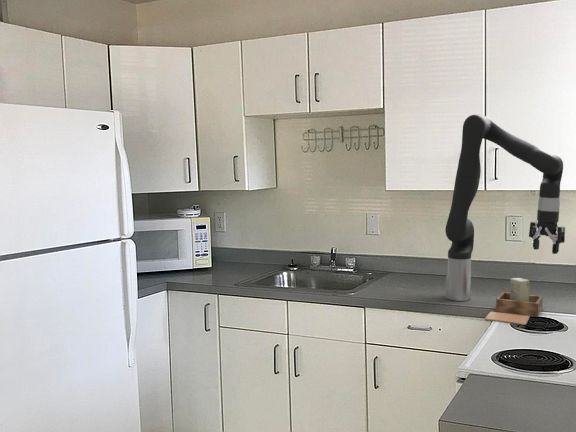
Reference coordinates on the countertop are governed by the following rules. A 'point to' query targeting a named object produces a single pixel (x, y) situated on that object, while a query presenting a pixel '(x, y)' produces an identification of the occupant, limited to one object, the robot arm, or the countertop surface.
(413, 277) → the countertop surface
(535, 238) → the robot arm
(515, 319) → the terracotta tile
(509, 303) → the frame
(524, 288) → the skincare box
